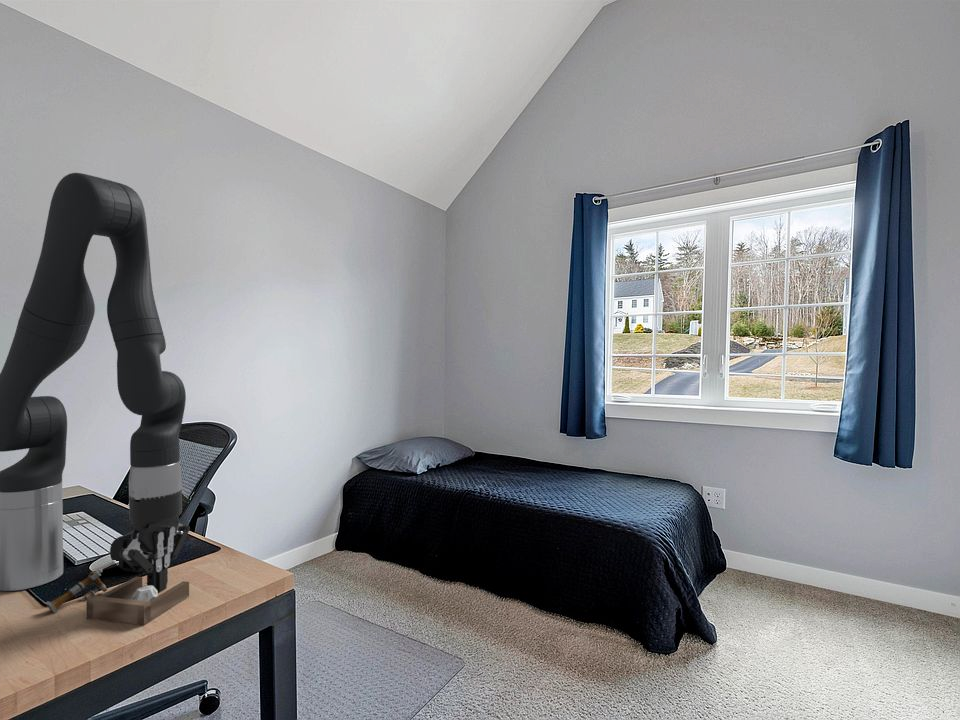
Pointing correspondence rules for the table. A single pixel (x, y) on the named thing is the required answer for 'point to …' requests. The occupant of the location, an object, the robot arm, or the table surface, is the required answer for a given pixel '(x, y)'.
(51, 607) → the wooden post with brackets
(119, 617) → the dice corral
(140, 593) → the game die
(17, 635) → the table surface
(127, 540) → the end cap
